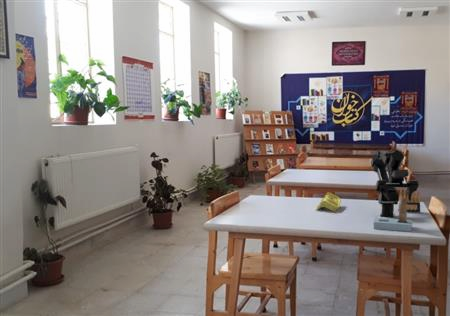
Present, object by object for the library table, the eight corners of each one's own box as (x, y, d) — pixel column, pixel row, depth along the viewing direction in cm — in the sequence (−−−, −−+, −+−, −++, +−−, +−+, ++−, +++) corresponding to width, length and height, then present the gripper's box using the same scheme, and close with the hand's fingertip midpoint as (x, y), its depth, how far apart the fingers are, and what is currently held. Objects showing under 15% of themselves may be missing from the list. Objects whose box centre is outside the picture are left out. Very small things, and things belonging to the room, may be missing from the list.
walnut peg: (396, 228, 222) (397, 197, 221) (402, 227, 224) (403, 197, 222) (402, 229, 220) (403, 198, 218) (407, 228, 221) (408, 198, 220)
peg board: (375, 223, 231) (375, 217, 230) (411, 226, 225) (412, 220, 224) (373, 228, 222) (373, 222, 221) (411, 231, 216) (411, 224, 215)
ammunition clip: (398, 211, 259) (399, 189, 258) (398, 210, 261) (399, 188, 260) (420, 212, 257) (421, 189, 256) (419, 211, 259) (420, 189, 258)
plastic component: (338, 208, 258) (321, 199, 260) (332, 219, 260) (315, 210, 262) (342, 198, 277) (326, 190, 279) (336, 210, 279) (320, 201, 281)
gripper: (377, 163, 230) (382, 190, 220) (418, 163, 229) (425, 190, 219) (373, 177, 239) (377, 204, 229) (412, 177, 237) (419, 204, 227)
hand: (399, 200), depth 226 cm, fingers open, 9 cm apart
